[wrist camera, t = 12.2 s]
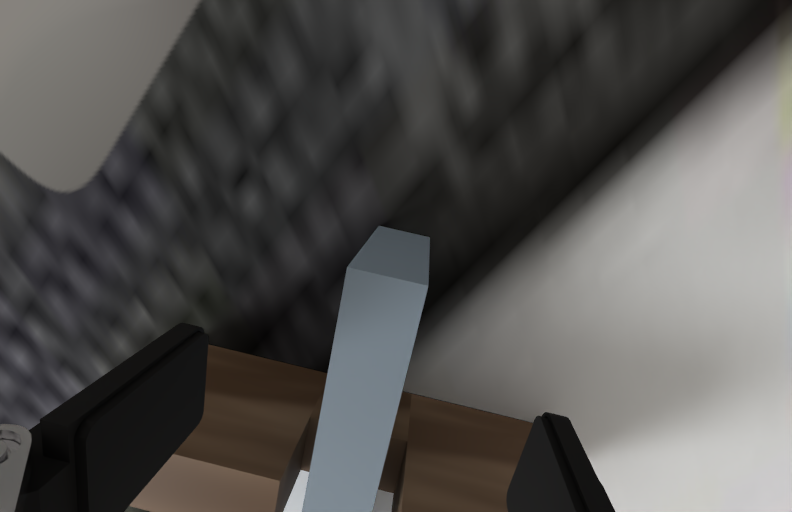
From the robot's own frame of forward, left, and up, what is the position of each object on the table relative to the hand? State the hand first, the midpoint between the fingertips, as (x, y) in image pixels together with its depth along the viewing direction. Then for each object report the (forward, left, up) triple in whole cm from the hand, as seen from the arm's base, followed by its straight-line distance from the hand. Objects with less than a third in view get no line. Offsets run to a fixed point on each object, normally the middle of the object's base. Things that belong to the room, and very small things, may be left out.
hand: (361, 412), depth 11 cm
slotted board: (+7, 0, -9) cm, 11 cm away
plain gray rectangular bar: (+7, 0, -9) cm, 11 cm away
